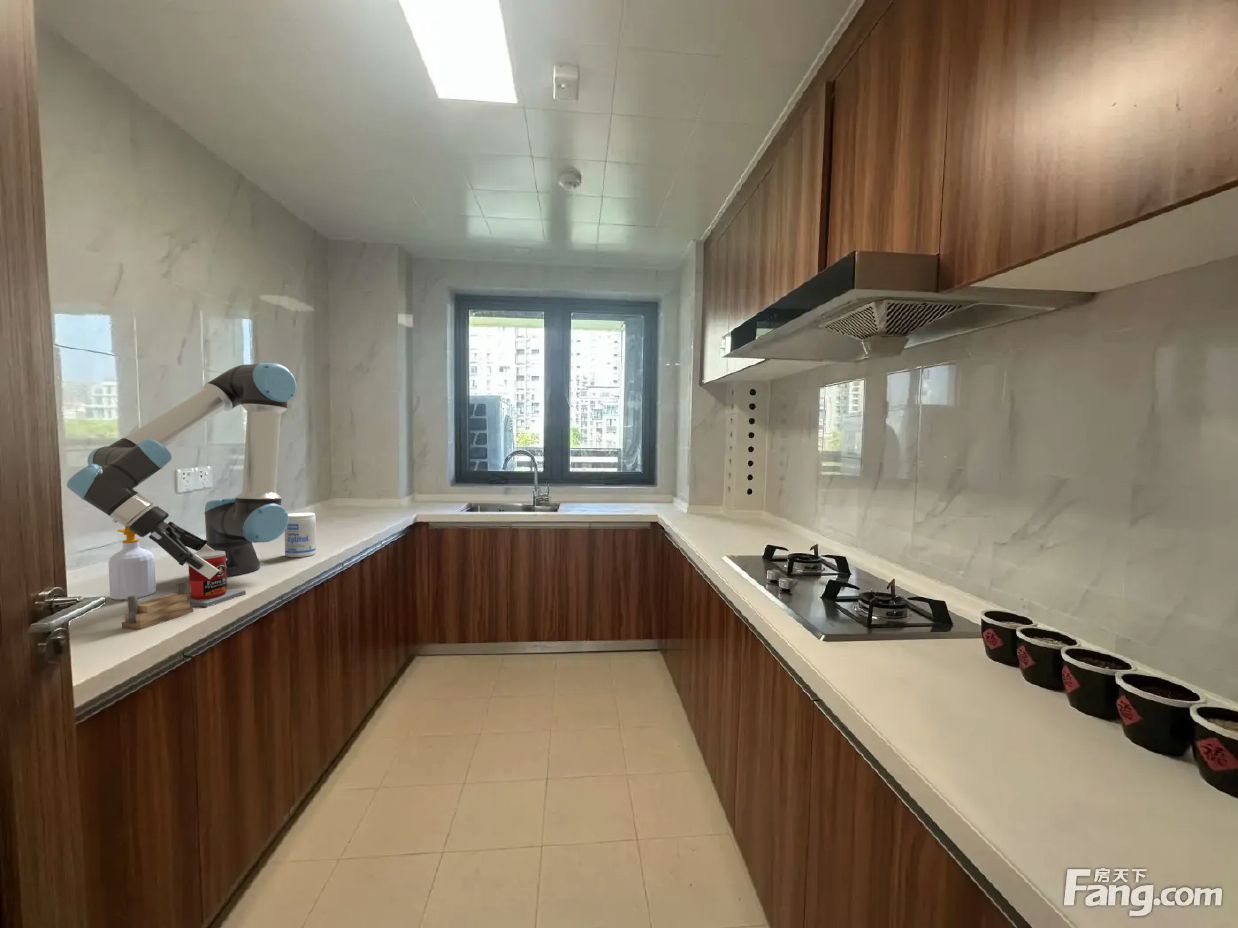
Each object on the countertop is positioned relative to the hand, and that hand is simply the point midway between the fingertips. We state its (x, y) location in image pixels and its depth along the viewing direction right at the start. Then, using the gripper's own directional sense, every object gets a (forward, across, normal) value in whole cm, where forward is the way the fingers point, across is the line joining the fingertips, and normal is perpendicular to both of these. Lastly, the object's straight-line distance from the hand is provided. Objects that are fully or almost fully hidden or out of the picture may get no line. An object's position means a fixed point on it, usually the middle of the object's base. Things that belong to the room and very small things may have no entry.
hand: (219, 568), depth 139 cm
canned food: (+3, 0, -6) cm, 7 cm away
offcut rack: (-1, +13, -12) cm, 18 cm away
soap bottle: (-9, -14, -20) cm, 26 cm away
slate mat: (+4, 0, -7) cm, 8 cm away
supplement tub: (+18, -48, +6) cm, 51 cm away
